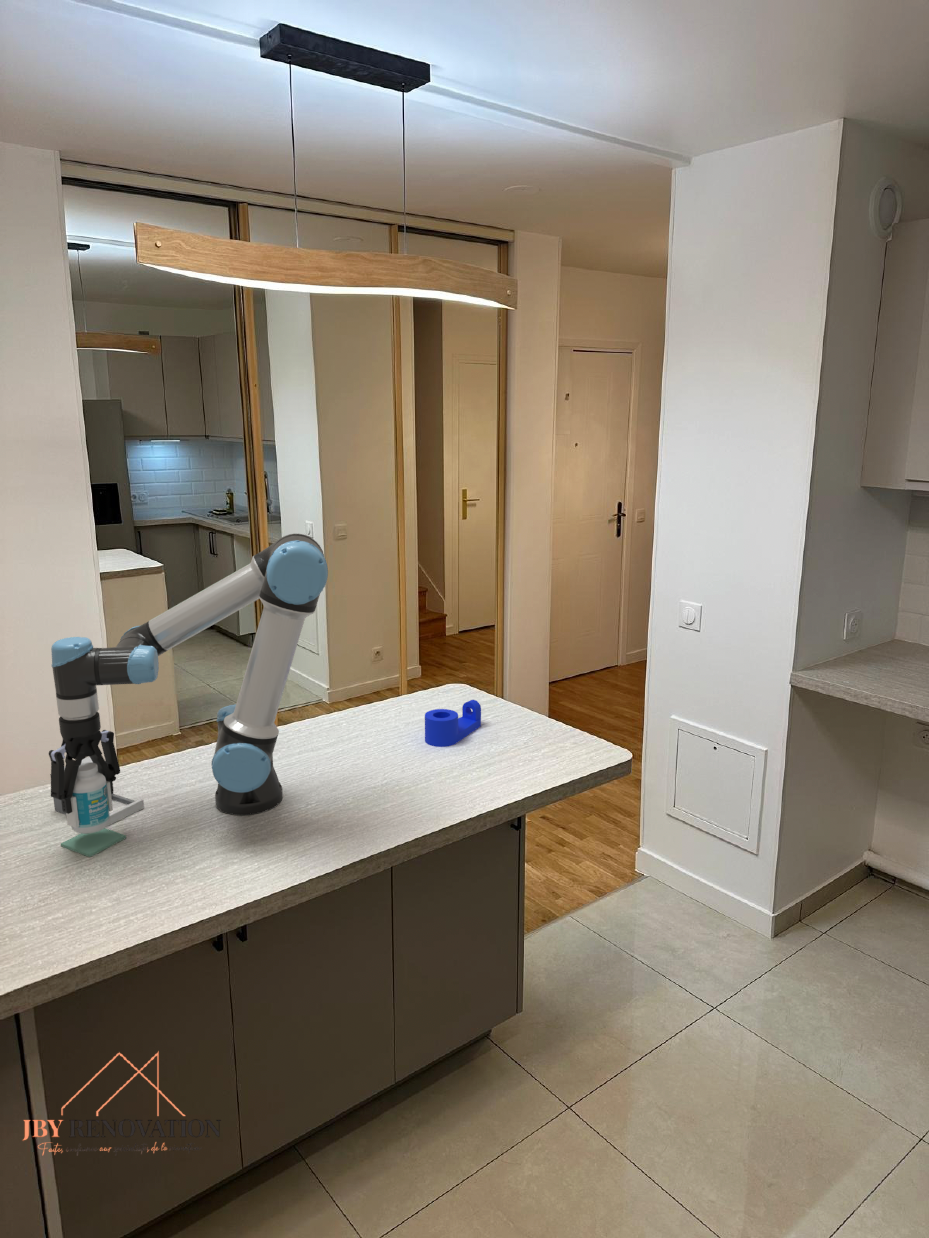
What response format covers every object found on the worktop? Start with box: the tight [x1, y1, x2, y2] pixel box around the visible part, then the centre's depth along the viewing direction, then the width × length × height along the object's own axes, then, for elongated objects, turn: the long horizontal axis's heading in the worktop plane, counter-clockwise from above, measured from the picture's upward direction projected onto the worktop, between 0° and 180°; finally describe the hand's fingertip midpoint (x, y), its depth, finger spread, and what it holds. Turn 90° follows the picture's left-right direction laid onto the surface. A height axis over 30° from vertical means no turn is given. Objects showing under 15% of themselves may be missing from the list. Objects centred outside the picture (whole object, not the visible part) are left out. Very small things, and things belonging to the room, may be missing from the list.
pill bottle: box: [70, 762, 110, 834], centre depth 177 cm, size 8×7×14 cm
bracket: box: [424, 699, 482, 748], centre depth 236 cm, size 20×9×8 cm, turn 143°
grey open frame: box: [49, 756, 145, 827], centre depth 192 cm, size 16×11×10 cm
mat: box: [60, 827, 127, 858], centre depth 179 cm, size 9×9×1 cm
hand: (90, 817), depth 178 cm, fingers closed on pill bottle, 7 cm apart
